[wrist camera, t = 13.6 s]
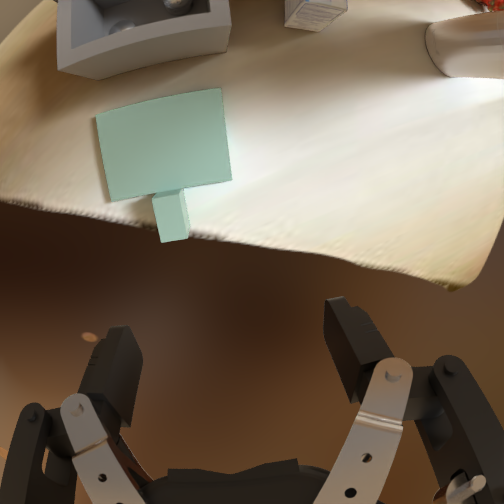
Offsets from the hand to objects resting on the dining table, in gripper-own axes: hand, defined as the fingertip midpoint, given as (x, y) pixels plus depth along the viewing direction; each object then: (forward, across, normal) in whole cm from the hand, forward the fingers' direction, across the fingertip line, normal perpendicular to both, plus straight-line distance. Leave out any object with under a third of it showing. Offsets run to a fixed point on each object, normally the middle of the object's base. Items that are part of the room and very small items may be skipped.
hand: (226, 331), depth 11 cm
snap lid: (+24, +6, -3) cm, 25 cm away
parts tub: (+24, +5, -21) cm, 33 cm away
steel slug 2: (+24, +2, -22) cm, 33 cm away
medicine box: (+25, -12, -22) cm, 36 cm away
